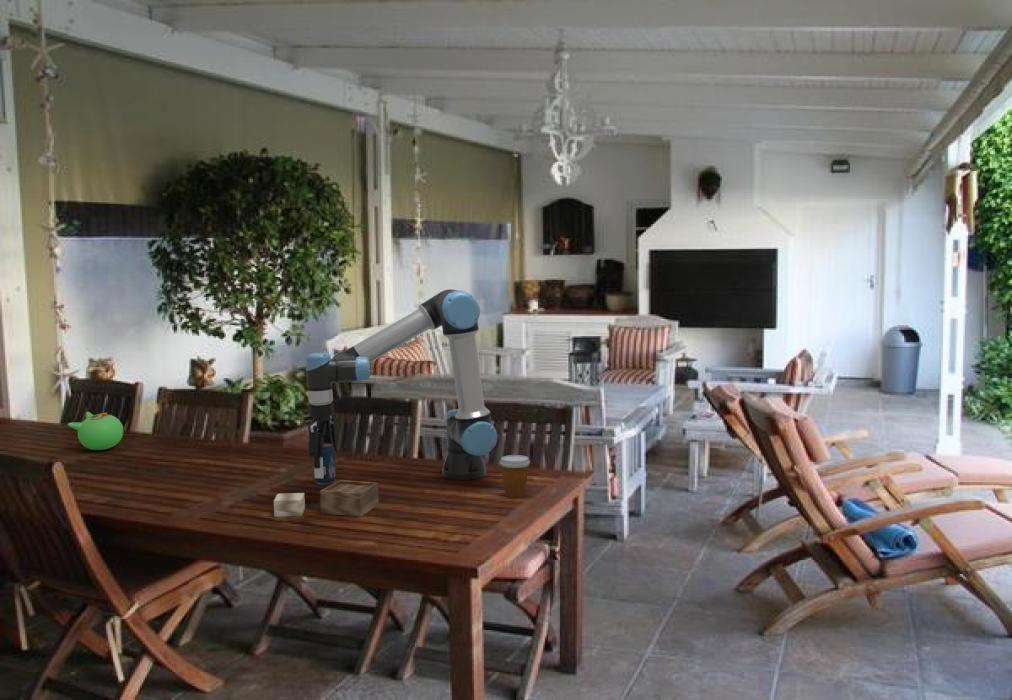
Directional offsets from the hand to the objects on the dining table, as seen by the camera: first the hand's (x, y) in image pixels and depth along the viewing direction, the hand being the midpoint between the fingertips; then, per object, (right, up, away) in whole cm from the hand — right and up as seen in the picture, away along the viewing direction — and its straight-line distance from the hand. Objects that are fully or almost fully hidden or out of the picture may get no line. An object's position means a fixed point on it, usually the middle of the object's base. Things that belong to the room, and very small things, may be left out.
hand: (324, 474), depth 301 cm
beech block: (-8, -10, -14) cm, 19 cm away
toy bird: (-102, 0, +73) cm, 125 cm away
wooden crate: (+10, -9, -11) cm, 17 cm away
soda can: (0, -2, 0) cm, 3 cm away
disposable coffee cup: (+60, -7, +4) cm, 60 cm away
